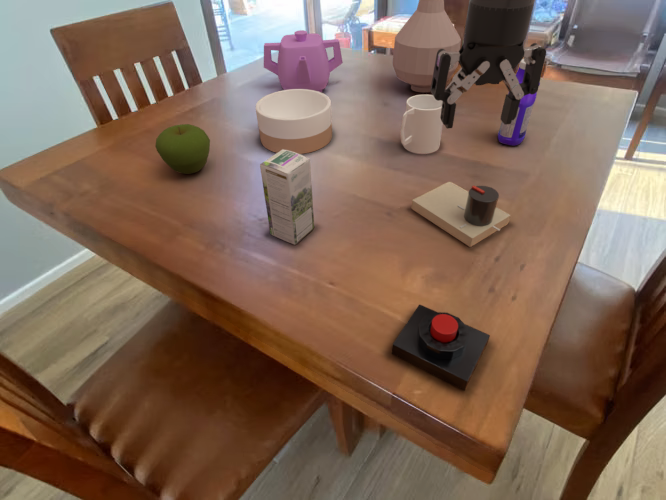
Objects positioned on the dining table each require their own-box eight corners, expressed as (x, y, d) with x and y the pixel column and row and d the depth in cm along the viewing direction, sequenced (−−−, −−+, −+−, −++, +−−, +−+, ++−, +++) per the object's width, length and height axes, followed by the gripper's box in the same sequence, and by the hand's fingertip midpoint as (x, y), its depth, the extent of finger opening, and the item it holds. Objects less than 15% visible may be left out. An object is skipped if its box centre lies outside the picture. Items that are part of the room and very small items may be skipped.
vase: (444, 104, 115) (463, -29, 95) (382, 94, 121) (387, -32, 101) (460, 81, 126) (480, -42, 106) (402, 73, 132) (411, -44, 112)
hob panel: (515, 228, 75) (518, 218, 74) (477, 252, 71) (479, 242, 70) (448, 189, 85) (449, 180, 83) (411, 208, 81) (412, 199, 79)
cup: (384, 151, 97) (386, 108, 90) (418, 133, 103) (422, 91, 96) (413, 164, 92) (418, 119, 86) (446, 144, 98) (453, 101, 92)
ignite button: (459, 329, 55) (462, 320, 54) (450, 347, 53) (452, 338, 52) (436, 318, 56) (438, 310, 55) (426, 335, 54) (427, 327, 53)
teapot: (303, 71, 137) (299, 18, 127) (349, 83, 128) (348, 27, 118) (259, 91, 126) (251, 35, 116) (306, 105, 117) (301, 46, 107)
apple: (154, 177, 92) (139, 134, 85) (186, 154, 99) (174, 112, 92) (195, 187, 88) (183, 143, 82) (225, 163, 95) (215, 120, 89)
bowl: (245, 144, 101) (239, 110, 96) (287, 116, 112) (284, 84, 107) (307, 161, 95) (304, 126, 89) (345, 129, 106) (344, 96, 100)
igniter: (486, 345, 57) (493, 326, 55) (464, 391, 52) (470, 372, 50) (417, 314, 62) (420, 295, 59) (391, 354, 57) (393, 335, 54)
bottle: (501, 130, 102) (520, 53, 91) (526, 135, 100) (549, 57, 89) (493, 144, 98) (512, 64, 86) (519, 149, 95) (542, 68, 84)
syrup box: (290, 218, 80) (281, 147, 70) (316, 229, 77) (310, 156, 67) (269, 235, 76) (257, 162, 66) (296, 246, 74) (287, 173, 64)
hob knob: (498, 218, 74) (505, 193, 71) (479, 229, 72) (486, 203, 68) (476, 206, 77) (482, 180, 73) (457, 216, 75) (462, 190, 71)
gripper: (452, 8, 49) (435, 139, 60) (575, 1, 49) (535, 132, 60) (435, -6, 54) (422, 116, 65) (545, -13, 55) (514, 110, 66)
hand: (476, 124), depth 63 cm, fingers open, 8 cm apart
